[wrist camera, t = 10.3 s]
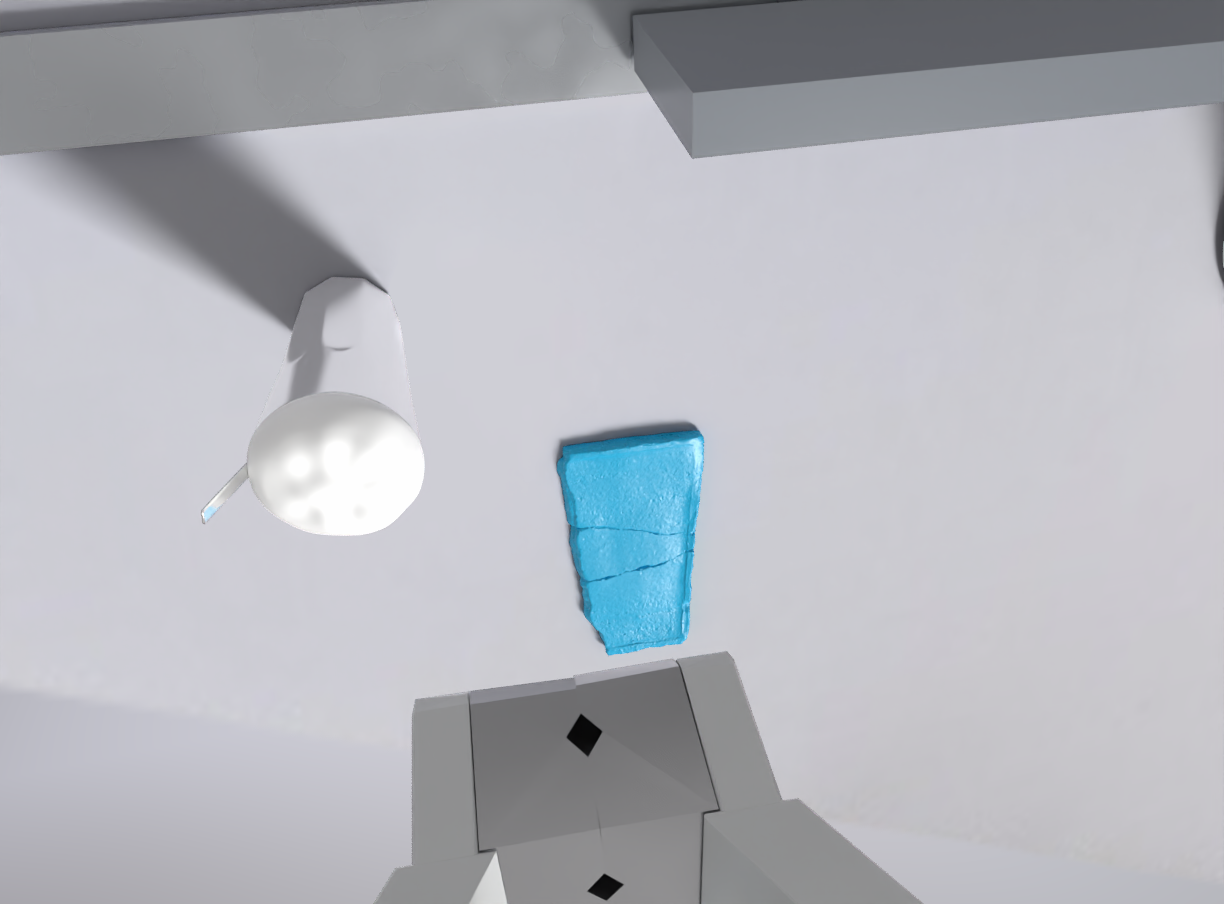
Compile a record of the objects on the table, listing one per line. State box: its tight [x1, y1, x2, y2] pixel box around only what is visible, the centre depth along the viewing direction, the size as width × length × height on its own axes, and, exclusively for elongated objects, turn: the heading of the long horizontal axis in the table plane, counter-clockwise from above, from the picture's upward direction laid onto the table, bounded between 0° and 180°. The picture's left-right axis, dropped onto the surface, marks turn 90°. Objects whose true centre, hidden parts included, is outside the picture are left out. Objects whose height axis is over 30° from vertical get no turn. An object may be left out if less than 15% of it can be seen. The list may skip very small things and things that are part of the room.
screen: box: [633, 0, 1224, 159], centre depth 26 cm, size 20×2×7 cm, turn 91°
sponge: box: [557, 431, 704, 655], centre depth 41 cm, size 2×12×6 cm
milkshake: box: [201, 277, 424, 536], centre depth 28 cm, size 5×5×10 cm
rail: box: [0, 0, 802, 155], centre depth 28 cm, size 41×3×1 cm, turn 91°
